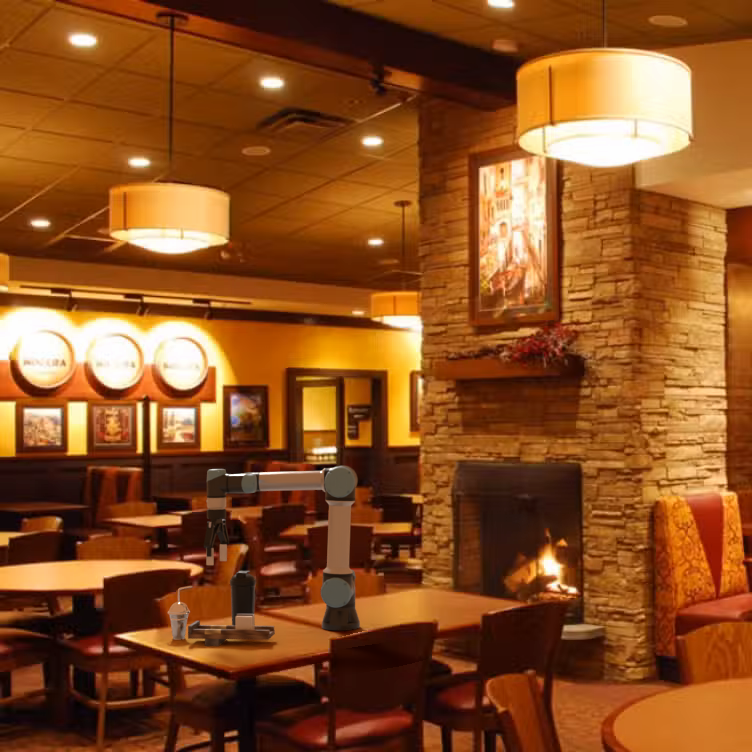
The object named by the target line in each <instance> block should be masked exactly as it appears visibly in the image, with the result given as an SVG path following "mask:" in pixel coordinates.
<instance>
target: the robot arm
mask: <svg viewBox="0 0 752 752" xmlns="http://www.w3.org/2000/svg"><path fill="white" fill-rule="evenodd" d="M206 473H207V474H206V500H205V502H206V508H207V509H206V519H208V520H210V521H207V522H206V529H205V530H206V531H205V536H204V541H203V542H204V543H203V549H205V550H206V553H205V554H206V555H205V556H206V558H205V560H206V564H205V565H206V566H214V563H215V560H214V557H215V556H214V553H215V550H214V543H215V540H216V538H217V537H218V539H219V541H220V543H219V562H227V561H228V559H227V558H228V548H227V547H228V545H229V544H230V538H229V537H230V536H229V533H228V528H227V520H226V519H227V509H226V508H227V494H253V493H256V492H267V491H268V492H273V491H276V492H277V491H280V492H281V491H282V492H283V491H315V490H317V491H321V490H322V492H324V493H325V502H326V503H327V504H328V523H327V524H328V525H327V529H328V530H327V554H326V555H327V556H326V562H327V563H326V567H325V568H324V569H322V581H321V582H322V585H321V588H320V597H321V599H322V601H323V602H324V604H325V605H326V607H325V611H324V615H323V618H322V621H321V628H322V629H323V630H326V631H327V630H328V631H339V632H340V631H353V630H352V629H354V630H357V628H358V629H360V628H361V627H360V626H361V622H360V617H359V615H358V611H357V608H356V578H357V577H356V572H355V570H354V569H351V568H350V547H351V545H350V544H351V518H352V517H351V516H352V515H351V514H352V513H351V512H352V505H353V504H354V503H356V488H357V486H358V481H359V478H358V475H357V472H356V471H355V469H353V467H351V466H349V465H336V466H334V467H324V468H323V469H322V470H305V471H304V470H299V471H267V472H266V471H265V472H263V471H260V472H251V471H249V472H244V473H233V474H231V473H227V471H226V468H225V469H224V468H212V469H208V470H207V472H206ZM216 536H217V537H216Z"/></svg>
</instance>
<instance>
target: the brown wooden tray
mask: <svg viewBox="0 0 752 752" xmlns="http://www.w3.org/2000/svg"><path fill="white" fill-rule="evenodd" d="M187 632H188V633H187V639H190V640H192V639H193V640H194V639H195V640H196V639H197V640H199V639H200V640H203V639H204V646H205V647H219V646H221V645H222V644H224V642H226V641H227V640H259V641H261V640H263V641H264V640H265V641H266V640H267V641H269V640H270V639H271V638H272V637H273V636H274V635H276V634H275V633H276V631H275V625H255V630H240V629H235V625H232V624H231V625H229V624H227V625H225V624H221V625H220V624H201V620H195V621H194V622H193V623H191V624H190V625H187ZM226 639H227V640H226ZM225 640H226V641H225ZM220 644H221V645H220Z"/></svg>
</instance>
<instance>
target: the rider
mask: <svg viewBox="0 0 752 752" xmlns="http://www.w3.org/2000/svg"><path fill="white" fill-rule="evenodd" d="M255 615H256V614H254V615H253V614H237V616H236V617H235V629H240V630H255V626H256V624H255V623H256V622H255V619H256V617H255Z"/></svg>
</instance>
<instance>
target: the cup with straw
mask: <svg viewBox="0 0 752 752" xmlns="http://www.w3.org/2000/svg"><path fill="white" fill-rule="evenodd" d="M191 588H193V585H187V586H182V587H179V588H178V589H177V601H176V602H174V603H173V604H172V605H170V608H169V610H168V611H167V614H168V615H169V619H170V625H171V634H172V639H173V640H175V641H177V640H180V641H181V639H182V640H184V639H185V640H186V637H185V636H186V631H187V623H188V617H189V614H190V613H191V610H190V609H189V608H188V605H187V603H185V602H182V601H181V600H180V598H181V597H180V595H181V594H180V591H181V590H184V589H185V590H187V589H191Z"/></svg>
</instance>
